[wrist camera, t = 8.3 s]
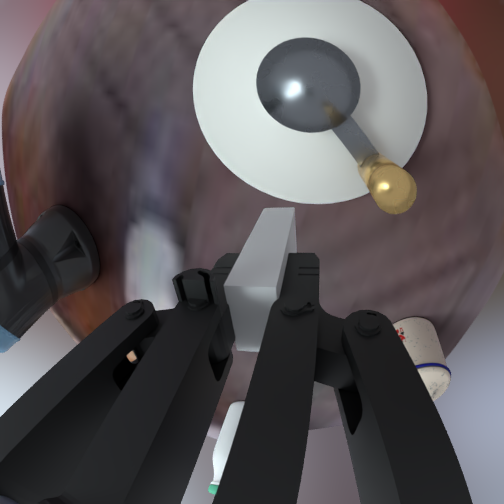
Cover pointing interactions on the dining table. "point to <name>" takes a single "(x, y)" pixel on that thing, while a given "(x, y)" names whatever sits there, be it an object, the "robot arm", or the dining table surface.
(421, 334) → the teacup with lid
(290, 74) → the lever
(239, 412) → the milk bottle
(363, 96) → the dial plate
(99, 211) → the dining table surface
